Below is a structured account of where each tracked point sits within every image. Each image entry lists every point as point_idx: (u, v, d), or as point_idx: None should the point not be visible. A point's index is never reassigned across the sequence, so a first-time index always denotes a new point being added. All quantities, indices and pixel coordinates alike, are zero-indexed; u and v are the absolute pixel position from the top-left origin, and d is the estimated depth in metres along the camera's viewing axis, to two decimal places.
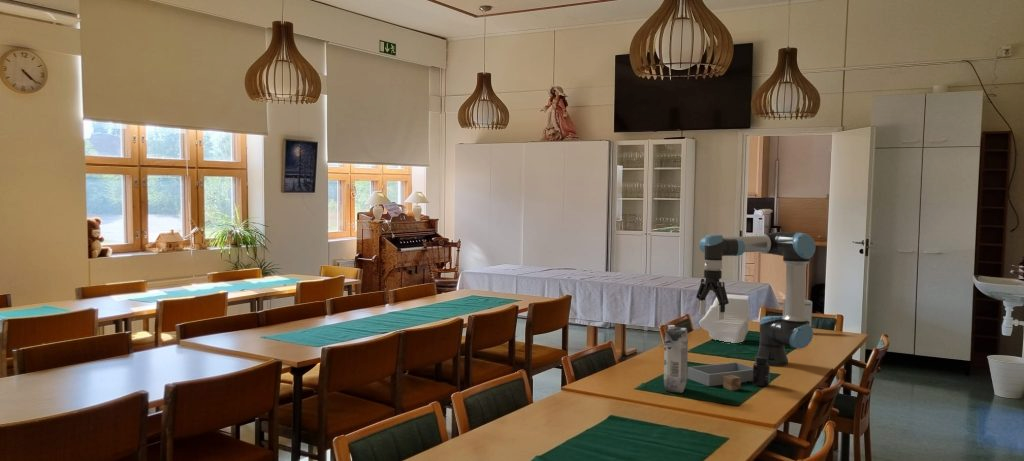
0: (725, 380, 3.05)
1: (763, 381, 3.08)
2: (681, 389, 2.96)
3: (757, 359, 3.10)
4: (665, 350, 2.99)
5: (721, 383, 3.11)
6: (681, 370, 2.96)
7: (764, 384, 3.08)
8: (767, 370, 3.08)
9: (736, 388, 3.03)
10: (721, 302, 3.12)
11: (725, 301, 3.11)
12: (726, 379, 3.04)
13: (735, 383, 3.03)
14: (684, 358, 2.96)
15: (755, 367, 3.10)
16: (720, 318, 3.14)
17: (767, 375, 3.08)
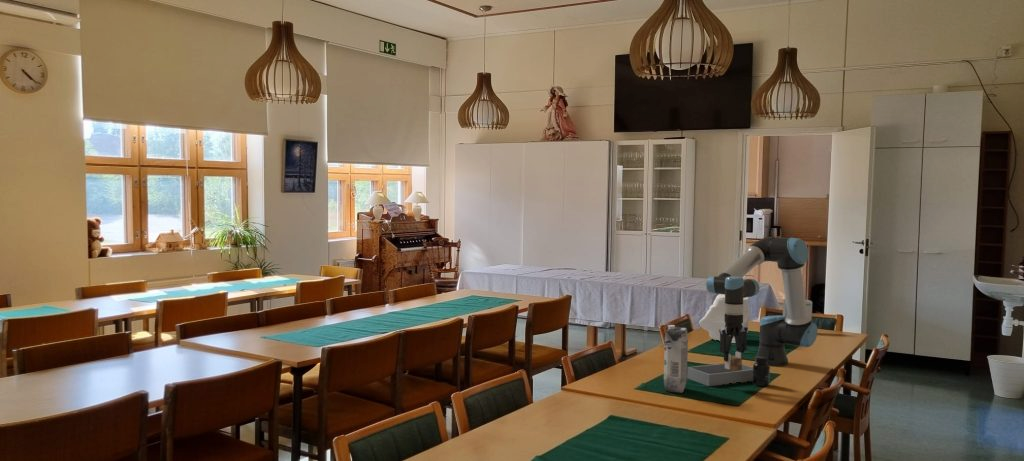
0: None
1: (763, 381, 3.08)
2: (681, 389, 2.96)
3: (757, 359, 3.10)
4: (665, 350, 2.99)
5: (721, 383, 3.11)
6: (681, 370, 2.96)
7: (764, 384, 3.08)
8: (767, 370, 3.08)
9: (737, 368, 3.03)
10: None
11: (721, 349, 3.02)
12: None
13: (736, 364, 3.02)
14: (684, 358, 2.96)
15: (755, 367, 3.10)
16: (726, 367, 3.04)
17: (767, 375, 3.08)
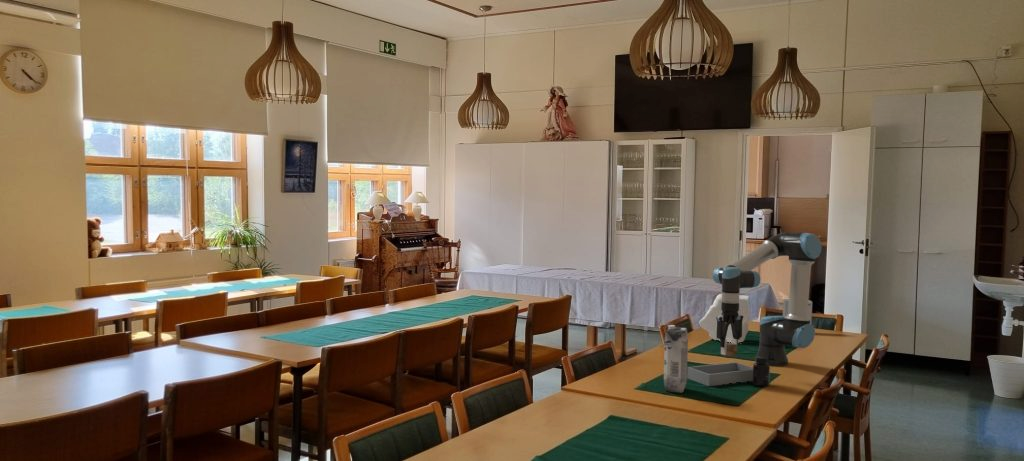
0: None
1: (763, 381, 3.08)
2: (681, 389, 2.96)
3: (757, 359, 3.10)
4: (665, 350, 2.99)
5: (721, 383, 3.11)
6: (681, 370, 2.96)
7: (764, 384, 3.08)
8: (767, 370, 3.08)
9: (733, 354, 3.19)
10: None
11: (718, 336, 3.19)
12: None
13: (732, 350, 3.19)
14: (684, 358, 2.96)
15: (755, 367, 3.10)
16: (722, 353, 3.20)
17: (767, 375, 3.08)
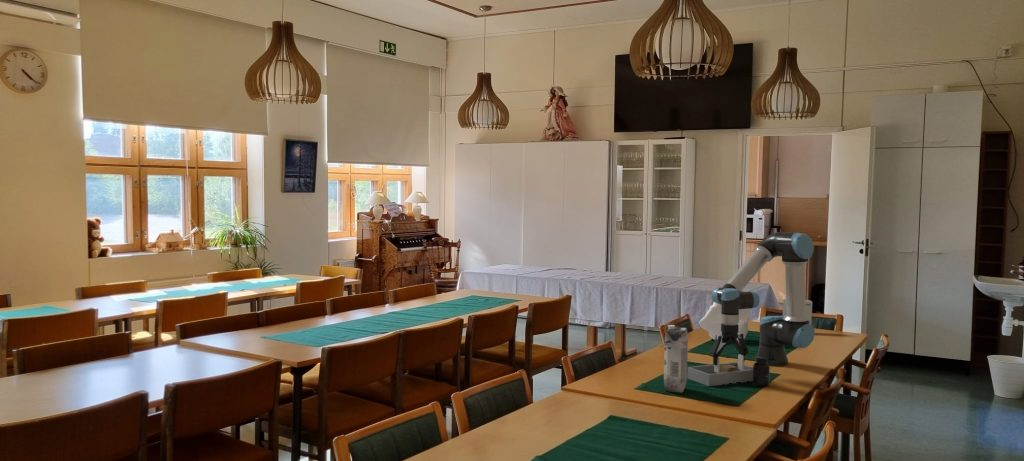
0: (722, 370, 3.21)
1: (763, 381, 3.08)
2: (681, 389, 2.96)
3: (757, 359, 3.10)
4: (665, 350, 2.99)
5: (721, 383, 3.11)
6: (681, 370, 2.96)
7: (764, 384, 3.08)
8: (767, 370, 3.08)
9: None
10: None
11: (711, 354, 3.17)
12: (723, 368, 3.21)
13: None
14: (684, 358, 2.96)
15: (755, 367, 3.10)
16: (715, 370, 3.19)
17: (767, 375, 3.08)
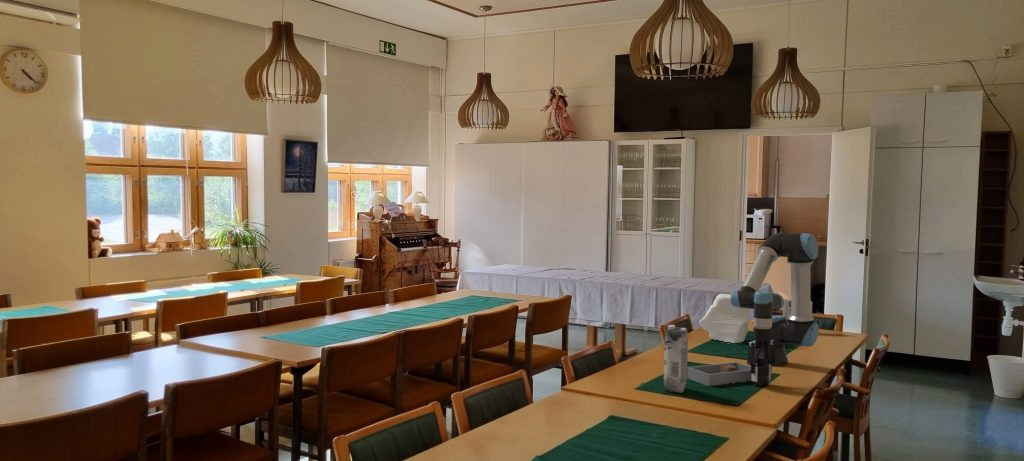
0: (722, 370, 3.21)
1: (763, 381, 3.08)
2: (681, 389, 2.96)
3: None
4: (665, 350, 2.99)
5: (721, 383, 3.11)
6: (681, 370, 2.96)
7: (764, 384, 3.08)
8: (767, 370, 3.08)
9: None
10: None
11: (748, 362, 3.09)
12: (723, 368, 3.21)
13: None
14: (684, 358, 2.96)
15: None
16: (752, 379, 3.10)
17: (767, 375, 3.08)
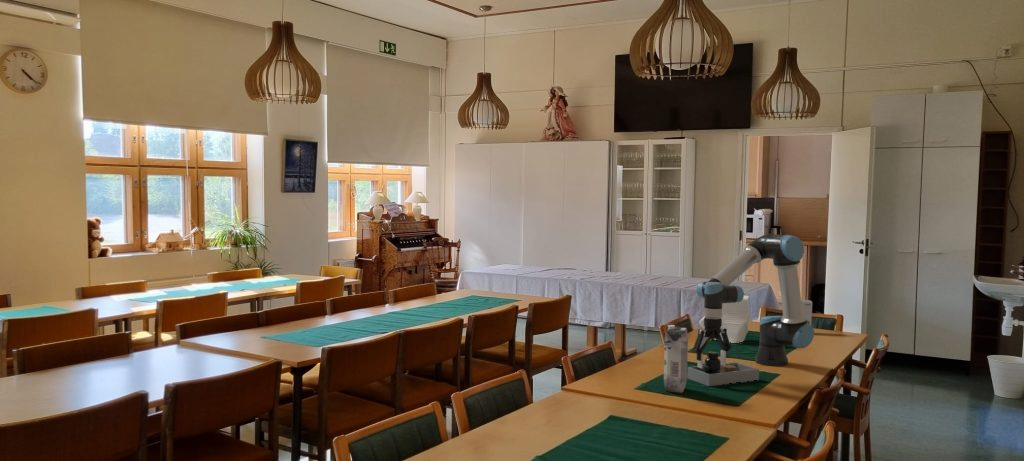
0: (722, 370, 3.21)
1: None
2: (681, 389, 2.96)
3: (708, 354, 3.16)
4: (665, 350, 2.99)
5: (721, 383, 3.11)
6: (681, 370, 2.96)
7: None
8: (718, 365, 3.15)
9: None
10: None
11: (694, 349, 3.13)
12: (723, 368, 3.21)
13: None
14: (684, 358, 2.96)
15: (706, 362, 3.16)
16: (698, 366, 3.15)
17: (717, 370, 3.15)
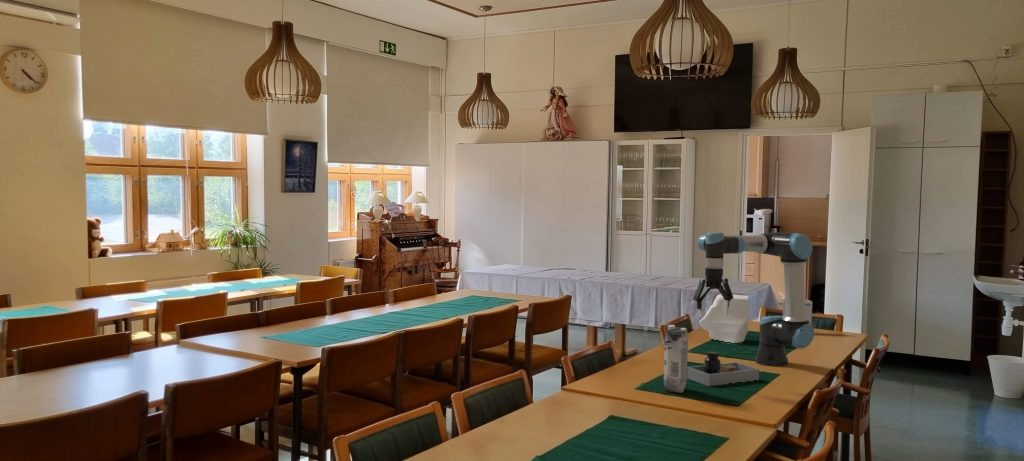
0: (722, 370, 3.21)
1: None
2: (681, 389, 2.96)
3: (708, 354, 3.16)
4: (665, 350, 2.99)
5: (721, 383, 3.11)
6: (681, 370, 2.96)
7: None
8: (717, 365, 3.15)
9: None
10: None
11: (694, 297, 3.12)
12: (723, 368, 3.21)
13: None
14: (684, 358, 2.96)
15: (706, 362, 3.16)
16: (699, 315, 3.14)
17: (717, 370, 3.15)
